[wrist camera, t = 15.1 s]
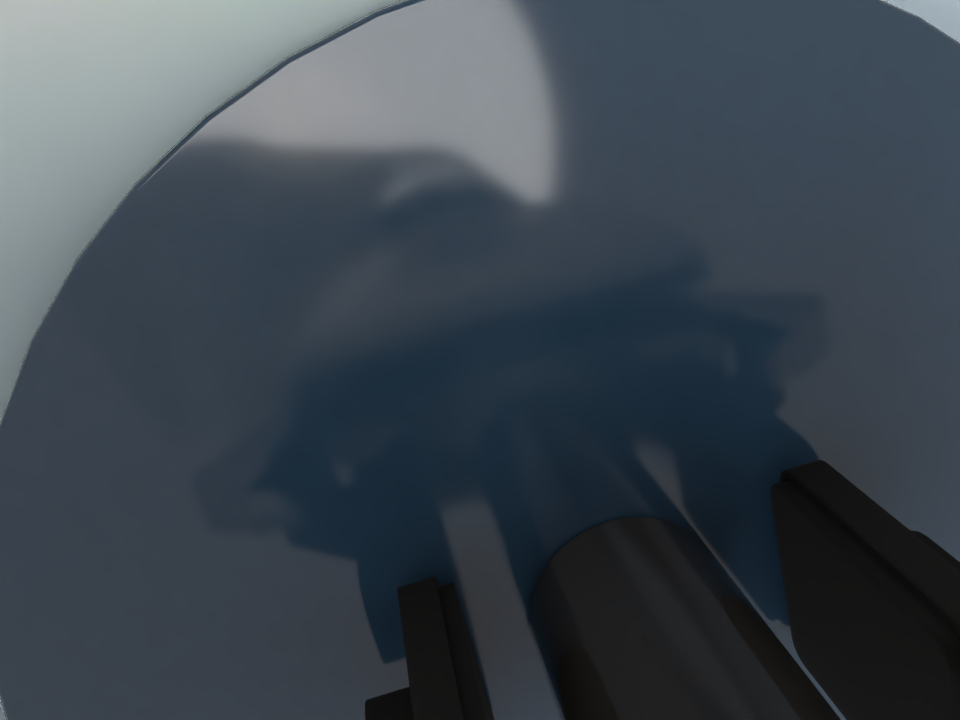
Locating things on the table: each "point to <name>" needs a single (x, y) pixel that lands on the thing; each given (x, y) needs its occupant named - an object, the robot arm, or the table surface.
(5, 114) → the table surface
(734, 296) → the lid
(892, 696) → the robot arm
